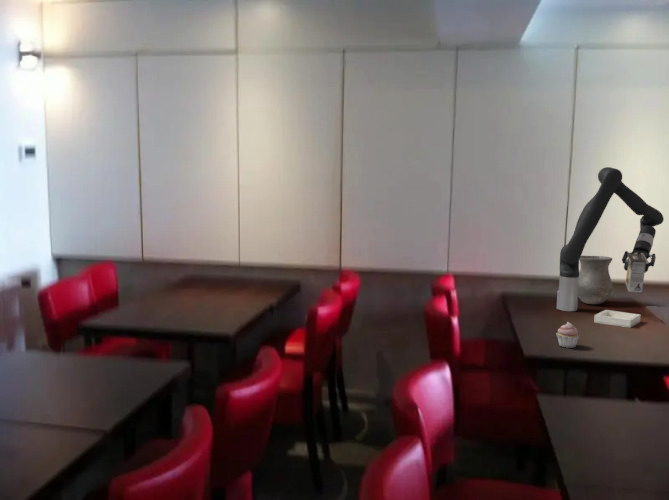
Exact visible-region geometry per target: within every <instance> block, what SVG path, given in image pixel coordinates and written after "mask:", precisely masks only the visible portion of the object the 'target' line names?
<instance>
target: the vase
mask: <svg viewBox="0 0 669 500" xmlns="http://www.w3.org/2000/svg"><path fill="white" fill-rule="evenodd" d="M612 261H613V258H612V257H610V256H604V255H581V257H580V259H579V264H580V269H579V285H578V299H579V300H580V301H581V302H582V303H584V304H587V305H601V304H603V303H605V301H606V300H607V299H609V298H610V296H611V294H612V291H613V288H614V287H613V283H612V279H611V275H610V272H609V271H610V270H609V266H610V264H611V263H612Z"/></svg>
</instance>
